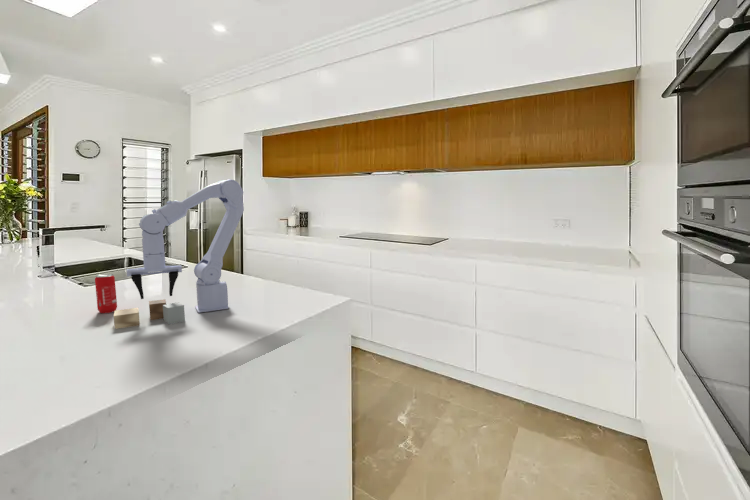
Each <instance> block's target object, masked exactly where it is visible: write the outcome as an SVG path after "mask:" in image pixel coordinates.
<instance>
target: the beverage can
mask: <svg viewBox="0 0 750 500" xmlns="http://www.w3.org/2000/svg"><path fill="white" fill-rule="evenodd" d="M94 282H95V283H94V284H95V294H96V296H95V297H96V305H97V307H96V308H97V311H98V312H99V314H111V313H114V311H116V310H117V309H118V301H117V288H116V279H115V275H114V274H113V273H105V274H104V273H103V274H98V275H95V278H94Z"/></svg>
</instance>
